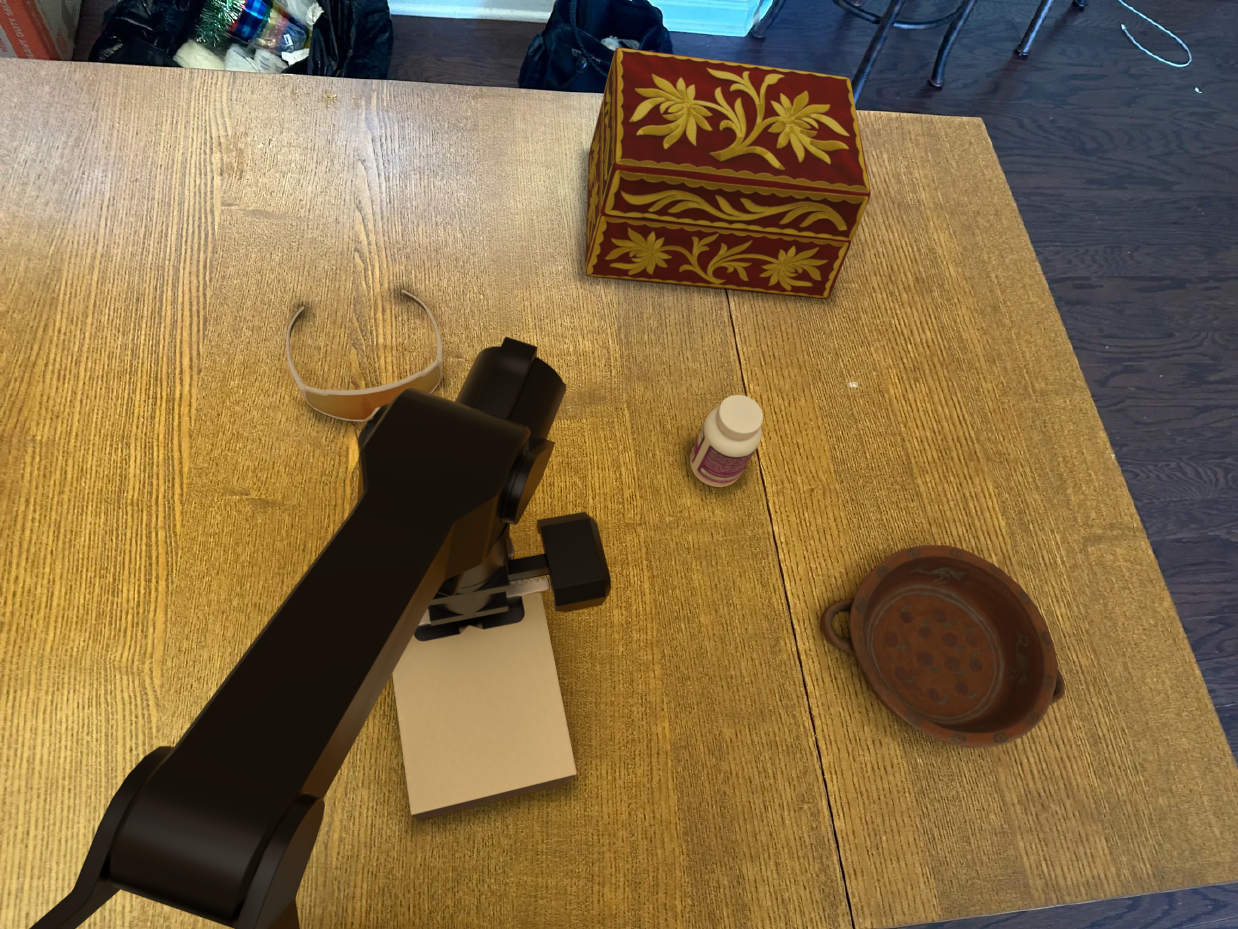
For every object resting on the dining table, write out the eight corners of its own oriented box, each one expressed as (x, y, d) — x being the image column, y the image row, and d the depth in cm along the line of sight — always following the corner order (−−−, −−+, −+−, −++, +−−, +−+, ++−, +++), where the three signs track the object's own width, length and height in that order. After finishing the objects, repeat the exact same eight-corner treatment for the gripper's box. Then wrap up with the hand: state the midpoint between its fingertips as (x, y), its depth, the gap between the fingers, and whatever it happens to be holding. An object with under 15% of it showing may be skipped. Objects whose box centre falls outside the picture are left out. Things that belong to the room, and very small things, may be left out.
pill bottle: (752, 474, 79) (783, 425, 71) (709, 497, 77) (735, 450, 69) (721, 431, 81) (747, 378, 72) (677, 453, 79) (700, 402, 70)
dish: (821, 536, 77) (841, 515, 73) (1043, 594, 77) (1076, 577, 73) (802, 720, 69) (823, 709, 64) (1050, 784, 69) (1088, 778, 65)
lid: (382, 597, 61) (381, 594, 60) (535, 568, 63) (536, 566, 62) (411, 814, 56) (410, 815, 55) (575, 774, 58) (577, 774, 58)
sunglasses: (306, 442, 74) (293, 408, 70) (285, 327, 82) (273, 290, 78) (459, 410, 78) (456, 375, 74) (426, 302, 85) (420, 266, 81)
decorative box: (584, 277, 87) (600, 169, 74) (588, 153, 96) (603, 37, 83) (829, 300, 91) (886, 201, 77) (811, 179, 99) (860, 71, 86)
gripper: (586, 399, 52) (566, 500, 66) (278, 442, 48) (327, 540, 61) (628, 561, 47) (598, 632, 61) (291, 624, 43) (340, 686, 57)
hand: (467, 618), depth 60 cm, fingers closed
